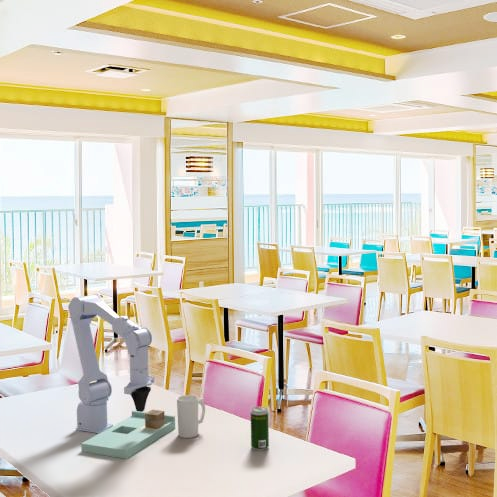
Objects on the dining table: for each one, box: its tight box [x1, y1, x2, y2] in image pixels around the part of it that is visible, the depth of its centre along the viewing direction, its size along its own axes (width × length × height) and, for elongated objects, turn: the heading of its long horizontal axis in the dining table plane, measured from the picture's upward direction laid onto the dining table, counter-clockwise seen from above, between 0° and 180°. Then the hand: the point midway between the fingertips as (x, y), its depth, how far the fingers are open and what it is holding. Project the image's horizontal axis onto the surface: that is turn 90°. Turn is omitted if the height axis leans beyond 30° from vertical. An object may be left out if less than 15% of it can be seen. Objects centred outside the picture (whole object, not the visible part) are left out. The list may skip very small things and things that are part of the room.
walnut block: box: [145, 409, 165, 429], centre depth 229 cm, size 4×4×4 cm
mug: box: [176, 394, 206, 439], centre depth 228 cm, size 10×7×12 cm, turn 128°
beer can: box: [250, 406, 270, 452], centre depth 215 cm, size 5×5×12 cm
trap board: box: [80, 410, 176, 460], centre depth 224 cm, size 16×29×4 cm, turn 157°
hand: (140, 410), depth 222 cm, fingers closed
